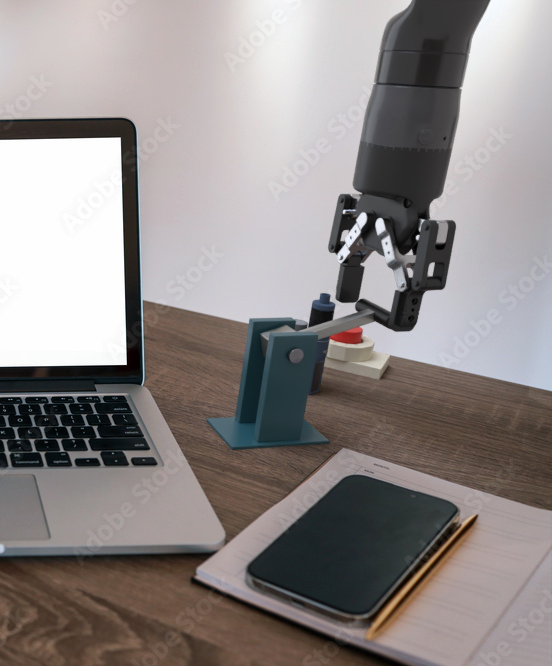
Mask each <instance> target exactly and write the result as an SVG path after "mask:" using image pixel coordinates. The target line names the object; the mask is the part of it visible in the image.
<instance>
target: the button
mask: <svg viewBox="0 0 552 666" xmlns="http://www.w3.org/2000/svg"><path fill="white" fill-rule="evenodd" d="M363 333H364V329H363V328H362V326H359V327H356V328H353V329H350V330H347V331H344V332H341V333H338V334H335V335H332V336H330V339H331V340H334V341H336V342H340V343H345V344H360V343H361V338H362V334H363Z"/></svg>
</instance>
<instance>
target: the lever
mask: <svg viewBox="0 0 552 666" xmlns="http://www.w3.org/2000/svg"><path fill="white" fill-rule="evenodd" d="M354 309H355V311H356V312H354V313H351V314H347V315H345V316H341V317H338V318H335V319H333V320H332V321H328V322H325V323H322V324H319V325H316V326H313V327H310V328H308V327H307V329H304V330H300V331H297V332H315V333H316V334H318V340H319V339H322V338H325V337H329V336H332V335H335V334H338V333H341V332H344V331H347V330H350V329H353V328H356V327H362V326H366V325H369V324H372V323H377V324H379V325H381V326H383V327H385V328H387V329H388V330H390V329H389V327H388V323H389V318H390V313H391V310H389V309H386V308H384V307H383V306H380V305H379V304H377V303H375V302H372V301H371V300H369V299H366V298H359V299H358V301H357V302H355V303H354ZM279 332H296V331H295V330H293V329H292V328H290V327H289V326H287V325H285V326H282V327H279V328H276V329H273V330H270V331H267V332H264V333H260V338H261V345H262V352H263V356H264V357H265V358H266V353H267V347H268V340H269V334H270V333H279Z"/></svg>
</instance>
